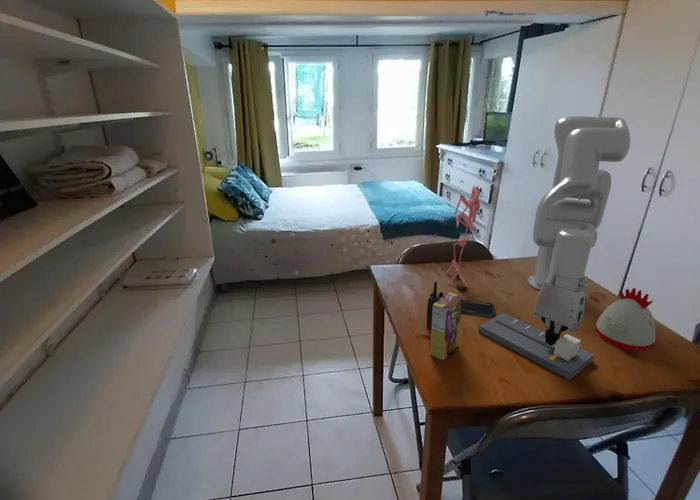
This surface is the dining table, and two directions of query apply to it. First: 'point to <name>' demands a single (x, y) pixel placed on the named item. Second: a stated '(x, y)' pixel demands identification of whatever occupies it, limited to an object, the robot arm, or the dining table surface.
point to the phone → (477, 308)
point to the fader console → (533, 345)
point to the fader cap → (567, 347)
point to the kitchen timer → (628, 322)
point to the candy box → (445, 325)
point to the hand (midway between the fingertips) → (551, 342)
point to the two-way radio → (431, 301)
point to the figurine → (473, 206)
